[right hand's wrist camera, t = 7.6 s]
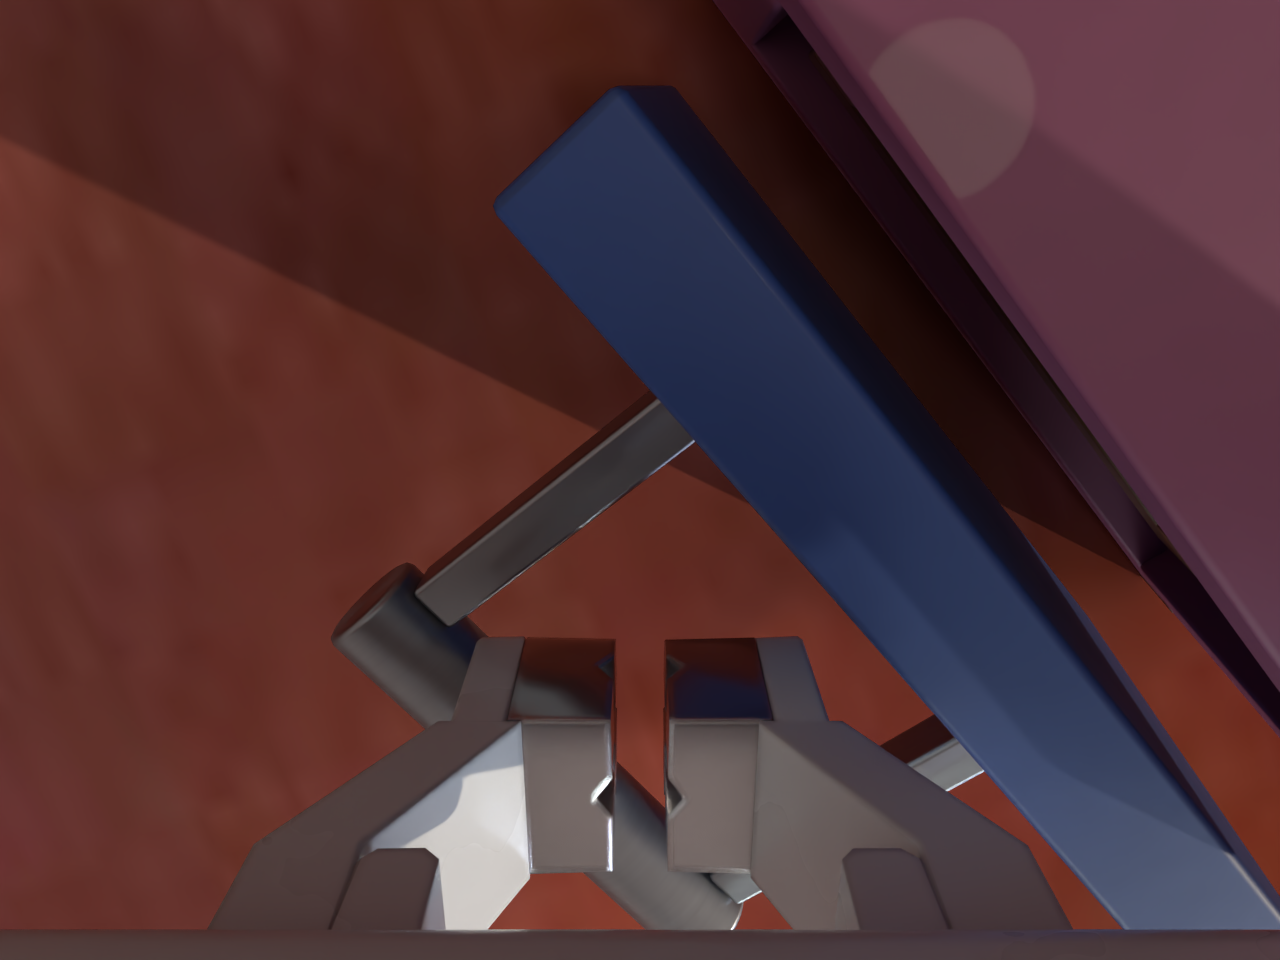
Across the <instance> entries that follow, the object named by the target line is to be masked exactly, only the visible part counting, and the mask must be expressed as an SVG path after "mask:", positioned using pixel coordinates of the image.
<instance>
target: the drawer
mask: <svg viewBox="0 0 1280 960" xmlns="http://www.w3.org/2000/svg"><path fill="white" fill-rule="evenodd" d="M808 56H809V59H810V61H811V62H812V63H813V65H814V66H815V67H816V69H817V70H818V72H819V73H820V74H821V76H822V77H823V78H824V80H825V81H826V83H827V84H828V85H829V87H830V88H831V89H832V91H833V92H834V94H835V95H836V96H837V98H838V99H839V100H840V102H841V103H842V104H843V106H844V107H845V109H846V110H847V111H848V113H849V114H850V115H851V117H852V118H853V120H854V121H855V122H856V124H857V125H858V126H859V128H860V129H861V131H862V132H863V133H864V135H865V136H866V137H867V139H868V140H869V142H870V143H871V144H872V146H873V147H874V148H875V150H876V151H877V153H878V154H879V155H880V157H881V158H882V159H883V161H884V162H885V164H886V165H887V166H888V168H889V169H890V170H891V172H892V173H893V175H894V176H895V177H896V179H897V180H898V181H899V183H900V184H901V185H902V187H903V188H904V190H905V191H906V192H907V194H908V195H909V196H910V198H911V199H912V201H913V202H914V203H915V205H916V206H917V207H918V209H919V210H920V212H921V213H922V214H923V216H924V217H925V218H926V220H927V221H928V223H929V224H930V225H931V227H932V228H933V229H934V231H935V232H936V234H937V235H938V236H939V238H940V239H941V240H942V242H943V243H944V245H945V246H946V247H947V249H948V250H949V251H950V253H951V254H952V255H953V257H954V258H955V260H956V261H957V262H958V264H959V265H960V266H961V268H962V269H963V271H964V272H965V273H966V275H967V276H968V277H969V279H970V280H971V282H972V283H973V284H974V286H975V287H976V288H977V290H978V291H979V293H980V294H981V295H982V297H983V298H984V299H985V301H986V302H987V304H988V305H989V306H990V308H991V309H992V310H993V312H994V313H995V315H996V316H997V317H998V319H999V320H1000V321H1001V323H1002V324H1003V325H1004V327H1005V328H1006V330H1007V331H1008V332H1009V334H1010V335H1011V336H1012V338H1013V339H1014V341H1015V342H1016V343H1017V345H1018V346H1019V347H1020V349H1021V350H1022V352H1023V353H1024V354H1025V356H1026V357H1027V358H1028V360H1029V361H1030V363H1031V364H1032V365H1033V367H1034V368H1035V369H1036V371H1037V372H1038V374H1039V375H1040V376H1041V378H1042V379H1043V380H1044V382H1045V383H1046V385H1047V386H1048V387H1049V389H1050V390H1051V391H1052V393H1053V394H1054V395H1055V397H1056V398H1057V400H1058V401H1059V402H1060V404H1061V405H1062V406H1063V408H1064V409H1065V411H1066V412H1067V413H1068V415H1069V416H1070V417H1071V419H1072V420H1073V422H1074V423H1075V424H1076V426H1077V427H1078V428H1079V430H1080V431H1081V433H1082V434H1083V435H1084V437H1085V438H1086V439H1087V441H1088V442H1089V444H1090V445H1091V446H1092V448H1093V449H1094V450H1095V452H1096V453H1097V455H1098V456H1099V457H1100V459H1101V460H1102V461H1103V463H1104V464H1105V465H1106V467H1107V468H1108V470H1109V471H1110V472H1111V474H1112V475H1113V476H1114V478H1115V479H1116V481H1117V482H1118V483H1119V485H1120V486H1121V487H1122V489H1123V490H1124V492H1125V493H1126V494H1127V496H1128V497H1129V498H1130V500H1131V501H1132V503H1133V504H1134V505H1135V507H1136V508H1137V509H1138V511H1139V512H1140V514H1141V515H1142V516H1143V518H1144V519H1145V520H1146V522H1147V523H1148V525H1149V526H1150V527H1151V529H1152V530H1153V531H1154V533H1155V534H1156V535H1157V537H1158V538H1159V539H1160V540H1161V541H1162V542H1163V543H1164V544H1165V545H1166V546H1167V547H1168V548H1169V549H1170V551H1171V552H1172V553H1173V554H1174V555H1175V556H1176V557H1177V558H1178V559H1179V560H1180V561H1182V563H1183V564H1184V565H1185V566H1186V567H1187V568H1188V569H1189V570H1190V571H1191V569H1190V568H1189V566H1188V565H1187V564H1186V562H1185V561H1184V560H1183V558H1182V557H1181V555H1180V554H1179V553H1178V551H1177V550H1176V548H1175V547H1174V546H1173V544H1172V543H1171V542H1170V540H1169V539H1168V537H1167V536H1166V535H1165V533H1164V532H1163V531H1162V529H1161V528H1160V526H1159V525H1158V524H1157V522H1156V521H1155V520H1154V518H1153V517H1152V515H1151V514H1150V513H1149V511H1148V510H1147V508H1146V507H1145V506H1144V504H1143V503H1142V502H1141V500H1140V499H1139V497H1138V496H1137V495H1136V493H1135V492H1134V491H1133V489H1132V488H1131V486H1130V485H1129V484H1128V482H1127V481H1126V480H1125V478H1124V477H1123V475H1122V474H1121V473H1120V471H1119V470H1118V468H1117V467H1116V466H1115V464H1114V463H1113V462H1112V460H1111V459H1110V457H1109V456H1108V455H1107V453H1106V452H1105V451H1104V449H1103V448H1102V446H1101V445H1100V444H1099V442H1098V441H1097V439H1096V438H1095V437H1094V435H1093V434H1092V433H1091V431H1090V430H1089V428H1088V427H1087V426H1086V424H1085V423H1084V422H1083V420H1082V419H1081V417H1080V416H1079V415H1078V413H1077V412H1076V411H1075V409H1074V408H1073V406H1072V405H1071V404H1070V402H1069V401H1068V399H1067V398H1066V397H1065V395H1064V394H1063V393H1062V391H1061V390H1060V388H1059V387H1058V386H1057V384H1056V383H1055V382H1054V380H1053V379H1052V377H1051V376H1050V375H1049V373H1048V372H1047V371H1046V369H1045V368H1044V366H1043V365H1042V364H1041V362H1040V361H1039V359H1038V358H1037V357H1036V355H1035V354H1034V353H1033V351H1032V350H1031V348H1030V347H1029V346H1028V344H1027V343H1026V342H1025V340H1024V339H1023V337H1022V336H1021V335H1020V333H1019V332H1018V331H1017V329H1016V328H1015V326H1014V325H1013V324H1012V322H1011V321H1010V319H1009V318H1008V317H1007V315H1006V314H1005V313H1004V311H1003V310H1002V308H1001V307H1000V306H999V304H998V303H997V302H996V300H995V299H994V297H993V296H992V295H991V293H990V292H989V290H988V289H987V288H986V286H985V285H984V284H983V282H982V281H981V279H980V278H979V277H978V275H977V274H976V273H975V271H974V270H973V268H972V267H971V266H970V264H969V263H968V262H967V260H966V259H965V257H964V256H963V255H962V253H961V252H960V250H959V249H958V248H957V246H956V245H955V244H954V242H953V241H952V239H951V238H950V237H949V235H948V234H947V233H946V231H945V230H944V228H943V227H942V226H941V224H940V223H939V222H938V220H937V219H936V217H935V216H934V215H933V213H932V212H931V210H930V209H929V208H928V206H927V205H926V204H925V202H924V201H923V199H922V198H921V197H920V195H919V194H918V193H917V191H916V190H915V188H914V187H913V186H912V184H911V183H910V181H909V180H908V179H907V177H906V176H905V175H904V173H903V172H902V170H901V169H900V168H899V166H898V165H897V164H896V162H895V161H894V159H893V158H892V157H891V155H890V154H889V153H888V151H887V150H886V148H885V147H884V146H883V144H882V143H881V141H880V140H879V139H878V137H877V136H876V135H875V133H874V132H873V130H872V129H871V128H870V126H869V125H868V124H867V122H866V121H865V119H864V118H863V117H862V115H861V114H860V113H859V111H858V110H857V108H856V107H855V106H854V104H853V103H852V101H851V100H850V99H849V97H848V96H847V95H846V93H845V92H844V90H843V89H842V88H841V86H840V85H839V84H838V82H837V81H836V79H835V78H834V77H833V75H832V74H831V72H830V71H829V70H828V68H827V67H826V66H825V64H824V63H823V61H822V60H821V59H820V57H819V56H818V55H817V53H816V52H815V50H814V49H812V50H811V51H810V53H809V55H808ZM493 207H494V210H495V212H496V215H497V216H498V217H499V218H500V220H501V221H502V222H503V223H504V224H505V225H506V226H507V228H508V229H509V230H510V231H511V232H512V233H513V234H514V236H515V237H516V238H517V239H518V240H519V241H520V242H521V244H522V245H523V246H524V247H525V248H526V249H527V250H528V252H529V253H530V254H531V255H532V256H533V257H534V258H535V260H536V261H537V262H538V263H539V264H540V265H541V266H542V268H543V269H544V270H545V271H546V272H547V273H548V274H549V275H550V277H551V278H552V279H553V280H554V281H555V282H556V283H557V285H558V286H559V287H560V288H561V289H562V290H563V291H564V293H565V294H566V295H567V296H568V297H569V298H570V299H571V301H572V302H573V303H574V304H575V305H576V306H577V307H578V309H579V310H580V311H581V312H582V313H583V314H584V315H585V317H586V318H587V319H588V320H589V321H590V322H591V323H592V324H593V326H594V327H595V328H596V329H597V330H598V331H599V332H600V334H601V335H602V336H603V337H604V338H605V339H606V340H607V342H608V343H609V344H610V345H611V346H612V347H613V348H614V350H615V351H616V352H617V353H618V354H619V355H620V356H621V358H622V359H623V360H624V361H625V362H626V363H627V364H628V366H629V367H630V368H631V369H632V370H633V371H634V372H635V374H636V375H637V376H638V377H639V378H640V379H641V380H642V381H643V383H644V384H645V385H646V386H647V387H648V388H649V389H650V391H649V392H647V393H646V394H645V395H644V396H642V397H641V398H640V399H639V400H637V401H636V402H635V403H634V404H632V405H631V406H630V407H629V408H627V409H626V410H625V411H624V412H622V413H621V414H620V415H619V416H617V417H616V418H615V419H614V420H612V421H611V422H610V423H609V424H607V425H606V426H605V427H604V428H602V429H601V430H600V431H599V432H597V433H596V434H595V435H594V436H592V437H591V438H590V439H589V440H587V441H586V442H585V443H584V444H582V445H581V446H580V447H579V448H577V449H576V450H575V451H574V452H572V453H571V454H570V455H569V456H567V457H566V458H565V459H564V460H562V461H561V462H560V463H559V464H557V465H556V466H555V467H554V468H553V469H551V470H550V471H549V472H548V473H546V474H545V475H544V476H543V477H541V478H540V479H539V480H538V481H536V482H535V483H534V484H533V485H531V486H530V487H529V488H528V489H526V490H525V491H524V492H523V493H521V494H520V495H519V496H518V497H516V498H515V499H514V500H513V501H511V502H510V503H509V504H508V505H506V506H505V507H504V508H503V509H501V510H500V511H499V512H498V513H496V514H495V515H494V516H493V517H491V518H490V519H489V520H488V521H486V522H485V523H484V524H483V525H481V526H480V527H479V528H478V529H476V530H475V531H474V532H473V533H471V534H470V535H469V536H468V537H466V538H465V539H464V540H463V541H461V542H460V543H459V544H458V545H456V546H455V547H454V548H453V549H451V550H450V551H449V552H448V553H446V554H445V555H444V556H443V557H441V558H440V559H439V560H438V561H436V562H435V563H434V564H433V565H431V566H430V567H429V568H428V569H427V571H426V573H425V574H423V573H422V572H421V571H420V570H419V569H418V568H417V567H416V566H415V565H413V564H410V563H404V564H402V565H400V566H398V567H396V568H394V569H393V570H391V571H390V572H389V573H387V574H386V575H385V576H384V577H382V578H381V579H380V580H379V581H378V582H377V583H375V584H374V585H373V586H372V587H371V588H370V589H369V590H368V591H367V592H366V593H365V594H364V595H363V596H362V597H361V598H360V599H359V600H358V601H357V602H356V603H355V604H354V605H353V606H352V607H351V608H350V610H349V611H348V612H347V613H346V614H345V615H344V617H343V618H342V619H341V620H340V622H339V623H338V625H337V626H336V628H335V630H334V632H333V634H332V636H331V641H332V643H333V645H334V646H335V647H336V648H337V649H338V650H339V651H340V652H341V653H342V654H343V655H345V656H346V657H347V658H348V659H349V660H350V661H351V662H352V663H353V664H354V665H355V666H357V667H358V668H359V669H360V670H361V671H362V672H363V673H364V674H365V675H366V676H368V677H369V678H370V679H371V680H372V681H373V682H374V683H375V684H376V685H377V686H379V687H380V688H381V689H382V690H383V691H384V692H385V693H386V694H387V695H388V696H390V697H391V698H392V699H393V700H394V701H395V702H396V703H397V704H398V705H399V706H401V707H402V708H403V709H404V710H405V711H406V712H407V713H408V714H409V715H410V716H412V717H413V718H414V719H415V720H416V721H417V722H418V723H419V724H420V725H421V726H423V727H424V728H425V729H427V728H428V727H430V726H431V725H433V724H434V723H436V722H437V721H451V720H452V716H453V713H454V710H455V707H456V704H457V701H458V698H459V695H460V692H461V689H462V686H463V683H464V679H465V676H466V673H467V670H468V667H469V664H470V661H471V658H472V655H473V652H474V649H475V646H476V642H477V641H478V640H479V639H481V638H482V637H488V636H487V635H486V634H485V633H484V632H483V631H482V630H481V629H480V628H479V627H478V626H477V625H476V624H475V623H474V622H473V621H472V620H470V619H469V618H468V617H467V615H469V614H470V613H471V612H473V611H474V610H475V609H477V608H478V607H479V606H481V605H482V604H483V603H485V602H486V601H487V600H488V599H490V598H491V597H492V596H494V595H495V594H496V593H498V592H499V591H500V590H502V589H503V588H504V587H506V586H507V585H508V584H509V583H511V582H512V581H513V580H515V579H516V578H517V577H519V576H520V575H521V574H523V573H524V572H525V571H527V570H528V569H529V568H530V567H532V566H533V565H534V564H536V563H537V562H538V561H540V560H541V559H542V558H544V557H545V556H546V555H548V554H549V553H550V552H551V551H553V550H554V549H555V548H557V547H558V546H559V545H561V544H562V543H563V542H565V541H566V540H567V539H569V538H570V537H571V536H572V535H574V534H575V533H576V532H578V531H579V530H580V529H582V528H583V527H584V526H586V525H587V524H588V523H590V522H591V521H592V520H594V519H595V518H596V517H597V516H599V515H600V514H601V513H603V512H604V511H605V510H607V509H608V508H609V507H611V506H612V505H613V504H615V503H616V502H617V501H618V500H620V499H621V498H622V497H624V496H625V495H626V494H628V493H629V492H630V491H632V490H633V489H634V488H636V487H637V486H638V485H639V484H641V483H642V482H643V481H645V480H646V479H647V478H649V477H650V476H651V475H653V474H654V473H655V472H657V471H658V470H659V469H660V468H662V467H663V466H664V465H666V464H667V463H668V462H670V461H671V460H672V459H674V458H675V457H676V456H678V455H679V454H680V453H681V452H683V451H684V450H685V449H687V448H688V447H689V446H691V445H692V444H693V443H695V442H696V443H697V444H698V445H699V446H700V448H701V449H702V450H703V451H704V452H705V453H706V454H707V456H708V457H709V458H710V459H711V460H712V461H713V462H714V464H715V465H716V466H717V467H718V468H719V469H720V470H721V472H722V473H723V474H724V475H725V476H726V477H727V478H728V480H729V481H730V482H731V483H732V484H733V485H734V486H735V487H736V489H737V490H738V491H739V492H740V493H741V494H742V495H743V497H744V498H745V499H746V500H747V501H748V502H749V503H750V505H751V506H752V507H753V508H754V509H755V510H756V511H757V513H758V514H759V515H760V516H761V517H762V518H763V519H764V521H765V522H766V523H767V524H768V525H769V526H770V527H771V529H772V530H773V531H774V532H775V533H776V534H777V535H778V537H779V538H780V539H781V540H782V541H783V542H784V543H785V544H786V546H787V547H788V548H789V549H790V550H791V551H792V552H793V554H794V555H795V556H796V557H797V558H798V559H799V560H800V562H801V563H802V564H803V565H804V566H805V567H806V568H807V570H808V571H809V572H810V573H811V574H812V575H813V576H814V578H815V579H816V580H817V581H818V582H819V583H820V584H821V586H822V587H823V588H824V589H825V590H826V591H827V592H828V594H829V595H830V596H831V597H832V598H833V599H834V600H835V601H836V603H837V604H838V605H839V606H840V607H841V608H842V609H843V611H844V612H845V613H846V614H847V615H848V616H849V617H850V619H851V620H852V621H853V622H854V623H855V624H856V625H857V627H858V628H859V629H860V630H861V631H862V632H863V633H864V635H865V636H866V637H867V638H868V639H869V640H870V641H871V643H872V644H873V645H874V646H875V647H876V648H877V649H878V650H879V652H880V653H881V654H882V655H883V656H884V657H885V658H886V660H887V661H888V662H889V663H890V664H891V665H892V666H893V668H894V669H895V670H896V671H897V672H898V673H899V674H900V676H901V677H902V678H903V679H904V680H905V681H906V682H907V684H908V685H909V686H910V687H911V688H912V689H913V690H914V692H915V693H916V694H917V695H918V696H919V697H920V698H921V700H922V701H923V702H924V703H925V704H926V705H927V706H928V707H929V709H930V710H931V711H932V712H933V713H934V715H932V716H931V717H929V718H927V719H925V720H924V721H922V722H920V723H918V724H917V725H915V726H913V727H912V728H910V729H908V730H906V731H905V732H903V733H901V734H899V735H898V736H896V737H894V738H892V739H891V740H889V741H887V742H885V743H884V744H882V745H880V747H882V748H883V749H885V750H886V751H888V752H889V753H890V754H892V755H893V756H895V757H896V758H898V759H899V760H901V761H902V762H904V763H905V764H907V765H908V766H910V767H911V768H913V769H914V770H916V771H917V772H919V773H920V774H922V775H923V776H925V777H926V778H928V779H929V780H931V781H932V782H934V783H935V784H937V785H938V786H940V787H941V788H943V789H944V790H946V791H949V790H951V789H953V788H955V787H957V786H959V785H960V784H962V783H964V782H966V781H968V780H970V779H971V778H973V777H975V776H977V775H979V774H981V773H983V772H984V771H985V772H986V774H987V775H988V776H989V777H990V778H991V779H992V780H993V782H994V783H995V784H996V785H997V786H998V787H999V788H1000V790H1001V791H1002V792H1003V793H1004V794H1005V795H1006V796H1007V798H1008V799H1009V800H1010V801H1011V802H1012V803H1013V804H1014V806H1015V807H1016V808H1017V809H1018V810H1019V811H1020V812H1021V813H1022V815H1023V816H1024V817H1025V818H1026V819H1027V820H1028V821H1029V823H1030V824H1031V825H1032V826H1033V827H1034V828H1035V829H1036V831H1037V832H1038V833H1039V834H1040V835H1041V836H1042V837H1043V839H1044V840H1045V841H1046V842H1047V843H1048V844H1049V845H1050V847H1051V848H1052V849H1053V850H1054V851H1055V852H1056V853H1057V855H1058V856H1059V857H1060V858H1061V859H1062V860H1063V861H1064V863H1065V864H1066V865H1067V866H1068V867H1069V868H1070V869H1071V870H1072V872H1073V873H1074V874H1075V875H1076V876H1077V877H1078V878H1079V880H1080V881H1081V882H1082V883H1083V884H1084V885H1085V886H1086V888H1087V889H1088V890H1089V891H1090V892H1091V893H1092V894H1093V896H1094V897H1095V898H1096V899H1097V900H1098V901H1099V902H1100V904H1101V905H1102V906H1103V907H1104V908H1105V909H1106V910H1107V912H1108V913H1109V914H1110V915H1111V916H1112V917H1113V918H1114V919H1115V921H1116V922H1117V923H1118V924H1119V925H1120V926H1121V927H1122V929H1123V930H1126V929H1259V930H1280V896H1279V895H1278V894H1277V892H1276V891H1275V889H1274V888H1273V886H1272V885H1271V883H1270V882H1269V880H1268V879H1267V877H1266V876H1265V875H1264V873H1263V872H1262V870H1261V869H1260V867H1259V866H1258V864H1257V863H1256V861H1255V860H1254V859H1253V857H1252V856H1251V854H1250V853H1249V851H1248V850H1247V848H1246V847H1245V845H1244V844H1243V842H1242V841H1241V840H1240V838H1239V837H1238V835H1237V834H1236V832H1235V831H1234V829H1233V828H1232V826H1231V825H1230V823H1229V822H1228V821H1227V819H1226V818H1225V816H1224V815H1223V813H1222V812H1221V810H1220V809H1219V807H1218V806H1217V805H1216V803H1215V802H1214V800H1213V799H1212V797H1211V796H1210V794H1209V793H1208V791H1207V790H1206V788H1205V787H1204V786H1203V784H1202V783H1201V781H1200V780H1199V778H1198V777H1197V775H1196V774H1195V772H1194V771H1193V769H1192V768H1191V767H1190V765H1189V764H1188V762H1187V761H1186V759H1185V758H1184V756H1183V755H1182V753H1181V752H1180V751H1179V749H1178V748H1177V746H1176V745H1175V743H1174V742H1173V740H1172V739H1171V737H1170V736H1169V734H1168V733H1167V732H1166V730H1165V729H1164V727H1163V726H1162V724H1161V723H1160V721H1159V720H1158V718H1157V717H1156V715H1155V714H1154V713H1153V711H1152V710H1151V708H1150V707H1149V705H1148V704H1147V702H1146V701H1145V699H1144V698H1143V697H1142V695H1141V694H1140V692H1139V691H1138V689H1137V688H1136V686H1135V685H1134V683H1133V682H1132V680H1131V679H1130V678H1129V676H1128V675H1127V673H1126V672H1125V670H1124V669H1123V667H1122V666H1121V664H1120V663H1119V661H1118V660H1117V659H1116V657H1115V656H1114V654H1113V653H1112V651H1111V650H1110V648H1109V647H1108V645H1107V644H1106V643H1105V641H1104V640H1103V638H1102V637H1101V635H1100V634H1099V632H1098V631H1097V629H1096V628H1095V626H1094V625H1093V624H1092V622H1091V621H1090V619H1089V618H1088V616H1087V615H1086V614H1085V612H1084V611H1083V610H1082V609H1081V607H1080V606H1079V605H1078V603H1077V602H1076V601H1075V600H1074V598H1073V597H1072V596H1071V594H1070V593H1069V592H1068V591H1067V589H1066V588H1065V587H1064V586H1063V584H1062V583H1061V582H1060V580H1059V579H1058V578H1057V577H1056V575H1055V574H1054V573H1053V571H1052V570H1051V569H1050V568H1049V566H1048V565H1047V564H1046V562H1045V561H1044V560H1043V559H1042V557H1041V556H1040V555H1039V553H1038V552H1037V551H1036V550H1035V548H1034V547H1033V546H1032V545H1031V543H1030V542H1029V541H1028V539H1027V538H1026V537H1025V536H1024V534H1023V533H1022V532H1021V530H1020V529H1019V528H1018V527H1017V525H1016V524H1015V523H1014V521H1013V520H1012V519H1011V518H1010V516H1009V515H1008V514H1007V512H1006V511H1005V510H1004V509H1003V507H1002V506H1001V505H1000V503H999V502H998V501H997V500H996V498H995V497H994V496H993V495H992V493H991V492H990V491H989V489H988V488H987V487H986V486H985V484H984V483H983V482H982V480H981V479H980V478H979V477H978V475H977V474H976V473H975V471H974V470H973V469H972V468H971V466H970V465H969V464H968V462H967V461H966V460H965V459H964V457H963V456H962V455H961V454H960V452H959V451H958V450H957V448H956V447H955V446H954V445H953V443H952V442H951V441H950V439H949V438H948V437H947V436H946V434H945V433H944V432H943V430H942V429H941V428H940V427H939V425H938V424H937V423H936V421H935V420H934V419H933V418H932V416H931V415H930V414H929V413H928V411H927V410H926V409H925V407H924V406H923V405H922V404H921V402H920V401H919V400H918V398H917V397H916V396H915V395H914V393H913V392H912V391H911V389H910V388H909V387H908V386H907V384H906V383H905V382H904V380H903V379H902V378H901V377H900V375H899V374H898V373H897V372H896V370H895V369H894V368H893V366H892V365H891V364H890V363H889V361H888V360H887V359H886V357H885V356H884V355H883V354H882V352H881V351H880V350H879V348H878V347H877V346H876V345H875V343H874V342H873V341H872V339H871V338H870V337H869V336H868V334H867V333H866V332H865V331H864V329H863V328H862V327H861V325H860V324H859V323H858V322H857V320H856V319H855V318H854V316H853V315H852V314H851V313H850V311H849V310H848V309H847V307H846V306H845V305H844V304H843V302H842V301H841V300H840V298H839V297H838V296H837V295H836V293H835V292H834V291H833V289H832V288H831V287H830V286H829V284H828V283H827V282H826V281H825V279H824V278H823V277H822V275H821V274H820V273H819V272H818V270H817V269H816V268H815V266H814V265H813V264H812V263H811V261H810V260H809V259H808V257H807V256H806V255H805V254H804V252H803V251H802V250H801V248H800V247H799V246H798V245H797V243H796V242H795V241H794V240H793V238H792V237H791V236H790V234H789V233H788V232H787V231H786V229H785V228H784V227H783V225H782V224H781V223H780V222H779V220H778V219H777V218H776V216H775V215H774V214H773V213H772V211H771V210H770V209H769V207H768V206H767V205H766V204H765V202H764V201H763V200H762V199H761V197H760V196H759V195H758V193H757V192H756V191H755V190H754V188H753V187H752V186H751V184H750V183H749V182H748V181H747V179H746V178H745V177H744V175H743V174H742V173H741V172H740V170H739V169H738V168H737V166H736V165H735V164H734V163H733V161H732V160H731V159H730V158H729V156H728V155H727V154H726V152H725V151H724V150H723V149H722V147H721V146H720V145H719V143H718V142H717V141H716V140H715V138H714V137H713V136H712V134H711V133H710V132H709V131H708V129H707V128H706V127H705V125H704V124H703V123H702V122H701V120H700V119H699V118H698V117H697V115H696V114H695V113H694V111H693V110H692V109H691V108H690V106H689V105H688V104H687V102H686V101H685V100H684V99H683V97H682V96H681V95H680V93H679V92H678V91H677V90H676V88H674V87H672V86H617V87H614V88H611V89H609V90H608V91H607V92H606V93H605V94H604V95H603V96H602V97H601V98H600V99H598V100H597V101H596V102H595V103H594V104H593V105H592V106H591V107H590V108H589V109H588V110H587V111H586V112H585V113H584V114H583V115H582V116H581V117H580V118H579V119H578V120H577V121H576V122H574V123H573V124H572V125H571V126H570V127H569V128H568V129H567V130H566V131H565V132H564V133H563V134H562V135H561V136H560V137H559V138H558V139H557V140H556V141H555V142H554V143H553V144H552V145H551V146H549V147H548V148H547V149H546V150H545V151H544V152H543V153H542V154H541V155H540V156H539V157H538V158H537V159H536V160H535V161H534V162H533V163H532V164H531V165H530V166H529V167H528V168H527V169H525V170H524V171H523V172H522V173H521V174H520V175H519V176H518V177H517V178H516V179H515V180H514V181H513V182H512V183H511V184H510V185H509V186H508V187H507V188H506V189H505V190H504V191H503V192H502V193H500V194H499V195H498V196H497V198H496V200H495V203H494V205H493ZM1191 572H1192V571H1191ZM1192 573H1193V572H1192ZM1193 575H1194V573H1193ZM1194 576H1195V575H1194ZM1195 577H1196V576H1195ZM1196 578H1197V577H1196ZM583 873H584V874H585V875H586V876H587V877H589V878H590V879H591V880H592V881H593V882H594V883H595V884H596V885H597V886H598V887H600V888H601V889H602V890H603V891H604V892H605V893H606V894H607V895H608V896H609V897H611V898H612V899H613V900H614V901H615V902H616V903H617V904H618V905H619V906H620V907H621V908H623V909H624V910H625V911H626V912H627V913H628V914H629V915H630V916H631V917H632V918H634V919H635V920H636V921H637V922H638V923H639V924H640V925H641V926H642V927H643V928H645V929H646V930H734V929H735V927H736V925H737V923H738V921H739V918H740V916H741V912H742V908H743V902H744V901H746V900H748V899H750V898H752V897H753V896H755V895H757V894H759V893H761V892H762V891H761V890H760V888H759V887H758V886H757V885H756V884H755V882H754V881H753V880H752V879H751V874H740V873H704V872H668V869H667V848H666V828H665V807H663V806H662V805H661V804H660V803H659V802H658V801H657V800H656V799H655V798H654V797H653V796H652V795H651V794H650V793H649V792H648V791H647V790H646V789H645V788H644V787H643V786H642V785H641V784H640V783H639V782H638V781H637V780H636V779H635V778H634V777H633V776H631V775H630V774H629V773H628V772H627V771H626V770H625V769H624V768H623V767H622V766H621V765H620V764H619V763H618V762H617V771H616V795H615V832H614V855H613V871H610V872H583Z"/></svg>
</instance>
